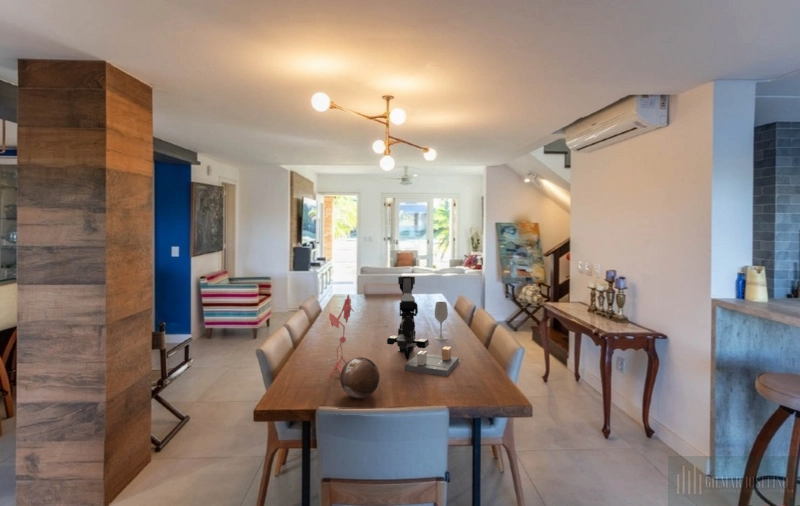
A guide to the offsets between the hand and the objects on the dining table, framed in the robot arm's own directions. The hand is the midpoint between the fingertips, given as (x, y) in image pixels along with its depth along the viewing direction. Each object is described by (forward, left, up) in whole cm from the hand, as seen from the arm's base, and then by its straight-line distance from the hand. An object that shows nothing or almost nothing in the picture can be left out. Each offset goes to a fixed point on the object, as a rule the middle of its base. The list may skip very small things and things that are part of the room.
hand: (407, 360), depth 200 cm
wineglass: (0, +54, -4) cm, 54 cm away
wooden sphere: (-5, -38, -4) cm, 39 cm away
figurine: (-22, -16, -4) cm, 28 cm away
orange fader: (+15, +11, -1) cm, 19 cm away
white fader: (+7, 0, -1) cm, 7 cm away
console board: (+10, +6, -4) cm, 12 cm away
